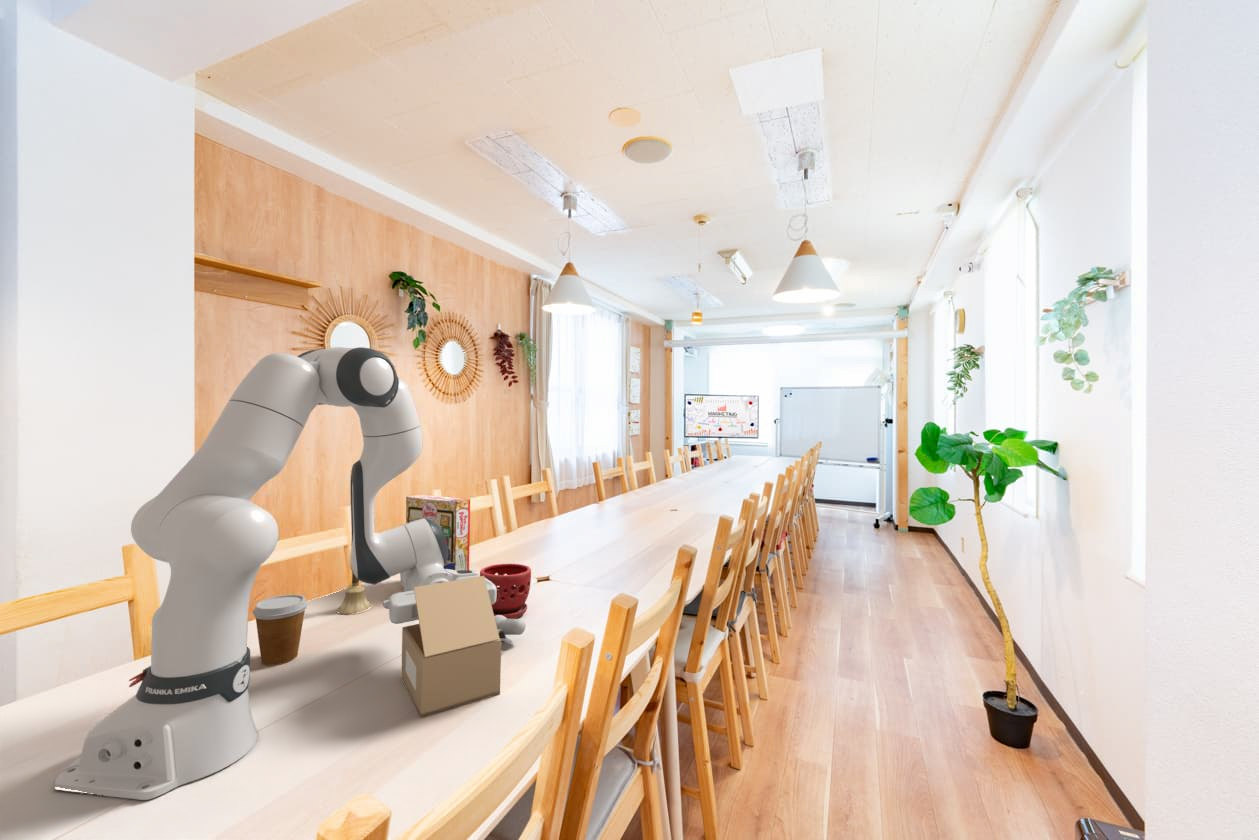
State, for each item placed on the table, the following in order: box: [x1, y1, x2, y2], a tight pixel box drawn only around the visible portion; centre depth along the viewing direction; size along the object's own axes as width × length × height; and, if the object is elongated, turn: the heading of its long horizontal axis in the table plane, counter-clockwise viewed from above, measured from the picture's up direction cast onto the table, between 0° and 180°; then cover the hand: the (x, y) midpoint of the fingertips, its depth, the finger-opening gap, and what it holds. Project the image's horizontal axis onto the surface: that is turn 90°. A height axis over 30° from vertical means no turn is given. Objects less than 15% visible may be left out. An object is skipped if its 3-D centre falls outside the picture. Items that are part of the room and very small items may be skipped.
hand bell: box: [336, 563, 372, 615], centre depth 135 cm, size 8×8×16 cm
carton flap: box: [414, 575, 500, 657], centre depth 94 cm, size 13×13×1 cm
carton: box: [400, 623, 502, 719], centre depth 97 cm, size 16×14×10 cm
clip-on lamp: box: [494, 615, 526, 645], centre depth 117 cm, size 12×6×18 cm
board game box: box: [405, 494, 471, 570], centre depth 154 cm, size 20×6×27 cm, turn 66°
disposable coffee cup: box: [252, 594, 309, 666], centre depth 106 cm, size 10×10×12 cm
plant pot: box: [479, 563, 532, 619], centre depth 133 cm, size 13×13×12 cm
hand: (455, 613), depth 95 cm, fingers closed, pressing on carton flap
